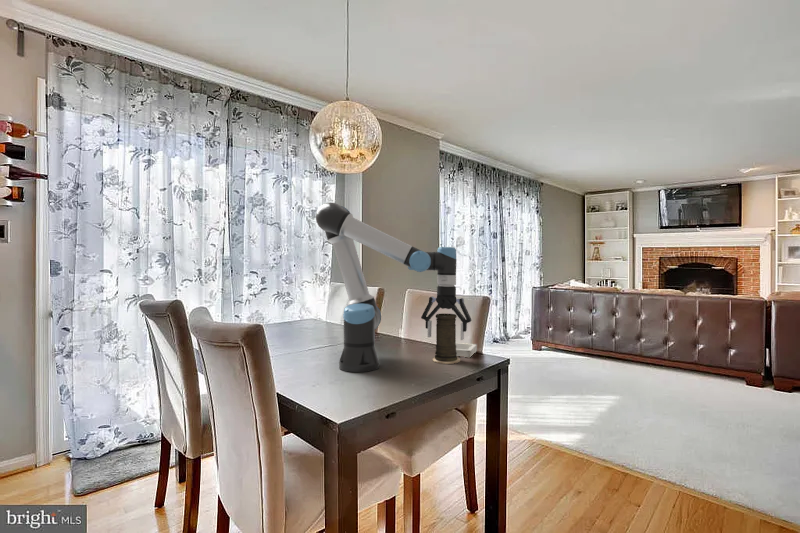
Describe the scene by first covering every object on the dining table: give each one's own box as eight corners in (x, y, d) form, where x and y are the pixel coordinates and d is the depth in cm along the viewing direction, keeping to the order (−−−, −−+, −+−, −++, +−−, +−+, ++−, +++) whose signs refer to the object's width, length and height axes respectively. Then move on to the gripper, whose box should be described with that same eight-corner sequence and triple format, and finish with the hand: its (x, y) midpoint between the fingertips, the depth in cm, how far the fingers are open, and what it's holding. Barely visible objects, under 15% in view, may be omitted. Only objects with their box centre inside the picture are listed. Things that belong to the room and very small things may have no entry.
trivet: (429, 362, 166) (429, 361, 166) (437, 356, 177) (437, 355, 177) (456, 365, 162) (456, 363, 162) (462, 358, 173) (462, 357, 173)
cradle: (444, 355, 178) (444, 348, 178) (452, 348, 191) (452, 342, 191) (470, 357, 174) (470, 350, 174) (477, 350, 187) (477, 344, 187)
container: (458, 361, 165) (458, 316, 165) (435, 361, 165) (435, 316, 165) (455, 356, 174) (456, 313, 174) (434, 356, 174) (434, 313, 174)
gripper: (414, 284, 170) (413, 337, 170) (475, 287, 161) (474, 342, 161) (420, 283, 177) (419, 334, 177) (479, 286, 168) (478, 339, 168)
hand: (445, 338), depth 169 cm, fingers open, 13 cm apart
